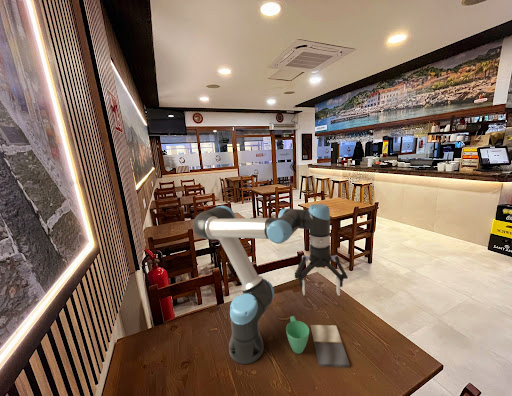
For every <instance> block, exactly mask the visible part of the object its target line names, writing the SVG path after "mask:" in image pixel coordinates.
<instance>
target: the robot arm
mask: <svg viewBox="0 0 512 396" xmlns="http://www.w3.org/2000/svg"><path fill="white" fill-rule="evenodd" d="M299 229H300V230H301V229H302V230H309V251H310V252H309V255H307V256H306V255H305V254H302V256H301V260H300V263H299V264H298V267H297V268H296V270H295V272H294V279H296V280H299V281H298V283H299V287H300V288H301V287H302V295H303V296H306V287H305V285H306V284H305V278H306V276H307V275H308V274H309V273H310V272H311V271H313V269H315V267H316V268H325V269H326V267H327V268H328V269H329V270H330V271H331V272H332V273H333V274H334V275H335V276H336V284H335V285H336V288H335V289H336V294H337V296H341V288H343V284H344V283H343V282H344V280H345V279H346V280H347V279H348V277H349V276H348V275H347V272H345V269H344V268H343V266H342V264H341V262H340V258H339V256H338V253H337V254H333V255H331V245H330V244H331V215H330V208H329V206H328V205H326V204H322V203H318V204H316V203H315V204H311V205H309V207H308V209H300V208H299V209H297V208H282V209H280V211H279V213H278V217H271V218H270V217H255V218H252V217H251V218H245V217H244V218H242V217H241V218H236V215H235V212H234V211H233V210H232V209H231V208H230V207H229V206H226V205H219V206H215V207H213V208H210V209H208V210H205V211H202V212H200V213H199V214H196V216H195V218H194V219H193V222H192V230H193V233H195V235H196V236H197V237H199V238H201V239H204V240H205V239H206V240H218V241H219V243H220V245H221V247H222V248H223V250H224V252H225V254H226V255H227V259H229V262H230V263H231V266H232V267H233V269H234V271H235V272H236V275H237V277H238V279H239V281H240V283H241V288H240V289H241V292H242V294H241V295H240V294H238V295H236V296H235V297H234V298H233V299H232V301H231V302H230V306H229V307H230V308H229V317H230V326H231V336H230V339H229V345H228V350H229V351H228V353H229V356H230V357H231V359H232V360H233V361H234V362H236V363H238V364H240V365H249V364H252V363H256V361H258V360H259V358H261V357H262V355H263V352H264V341H263V338H262V335H261V333H260V331H259V330H260V329H259V321H260V319H261V318H262V316H263V315H264V314H265V312H266V310H267V309H268V307H269V306H270V305H271V304H272V301H273V300H274V297H275V290H274V287H273V284H272V283H271V282H270V281H269V280H267V279H266V278H264V277H263V276H261V275H259V274H258V273H257V271H256V269H255V267H254V265H253V264H252V261H251V259H250V257H249V256H248V254H247V252H246V250H245V248H244V246H243V245H242V242H241V240H240V239H261V240H262V239H263V240H267V239H268V240H269V241H270V242H272V243H274V244H277V245H278V244H279V245H280V244H283V243H284V242H286V241H288V240H289V239H290V238H291V236H292V235H293V234H294V233H295V232H296V231H297V230H299ZM239 238H240V239H239ZM308 261H310V262H309V263H308V265H306V263H307V262H308ZM331 261H333V262H335V263H336V265H337V267H338V269H339V271H340V272H341V273H340V272H339V271H338V270H337V269H336V267H335V266H333V265H332V264H331ZM305 265H306V267H305ZM304 267H305V268H304Z"/></svg>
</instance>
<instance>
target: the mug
mask: <svg viewBox="0 0 512 396" xmlns="http://www.w3.org/2000/svg"><path fill="white" fill-rule="evenodd" d="M288 320H289V321H288V323H287V325H286V327H285V331H286V332H285V333H286V336H287V340H288V343H289V345H290V346H289V347H290V348H291V350H292V352H294V354H298V355H299V354H302V353H303V352H304V350H305V349H306V346H307V344H308V340H309V337H310V327H309V326H308V325H307V324H306V323H305V322H303V321H300V320H297V319H296V317H295V316H294V315H291V316H290V317H289V318H288Z"/></svg>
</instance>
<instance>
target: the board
mask: <svg viewBox="0 0 512 396" xmlns="http://www.w3.org/2000/svg"><path fill="white" fill-rule="evenodd" d="M310 329H311V330H310V331H311V334H312V335H311V336H312V340H313V345H314V350H315V354H316V360H317V366H318V367H327V368H328V367H330V368H351V367H350V365H351V364H350V361H349V359H348V356H347V355H348V354H347V353H346V350H345V347H344V344H343V341H342V339H341V335H340V332H339V330H338V327H337V325H334V324H333V325H332V324H331V325H328V324H325V325H324V324H310Z"/></svg>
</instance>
